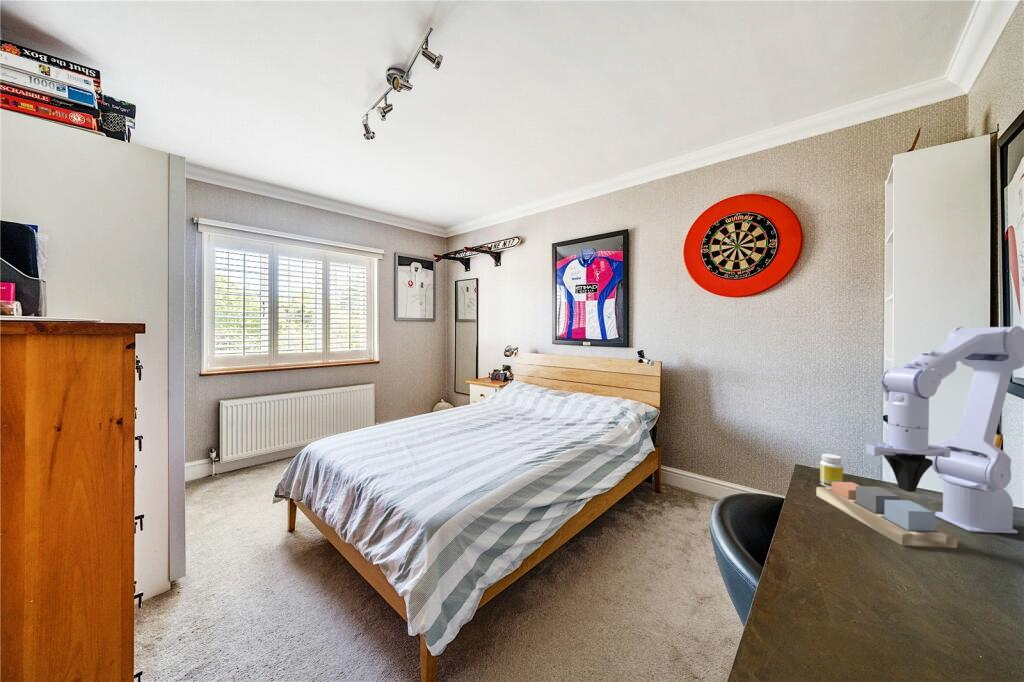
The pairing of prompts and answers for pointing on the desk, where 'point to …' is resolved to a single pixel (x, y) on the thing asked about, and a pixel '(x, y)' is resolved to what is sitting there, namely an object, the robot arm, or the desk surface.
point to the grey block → (874, 498)
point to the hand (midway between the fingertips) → (906, 489)
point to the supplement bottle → (830, 469)
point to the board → (888, 523)
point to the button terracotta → (845, 489)
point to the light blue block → (909, 515)
